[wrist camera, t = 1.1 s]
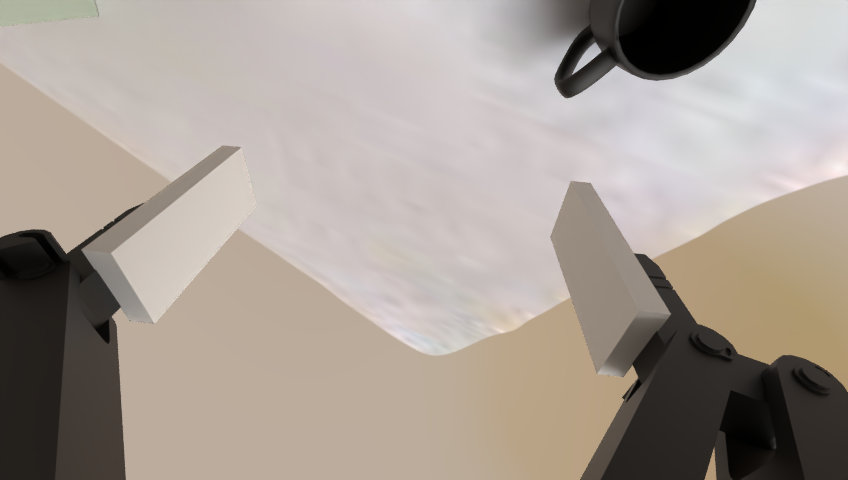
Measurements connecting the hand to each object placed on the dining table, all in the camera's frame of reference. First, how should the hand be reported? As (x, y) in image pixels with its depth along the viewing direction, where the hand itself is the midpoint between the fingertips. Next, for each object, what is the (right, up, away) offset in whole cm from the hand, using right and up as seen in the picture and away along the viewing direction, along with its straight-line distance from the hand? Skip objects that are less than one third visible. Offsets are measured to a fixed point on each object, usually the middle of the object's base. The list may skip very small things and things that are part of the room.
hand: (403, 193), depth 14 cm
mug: (+16, +17, +16) cm, 28 cm away
